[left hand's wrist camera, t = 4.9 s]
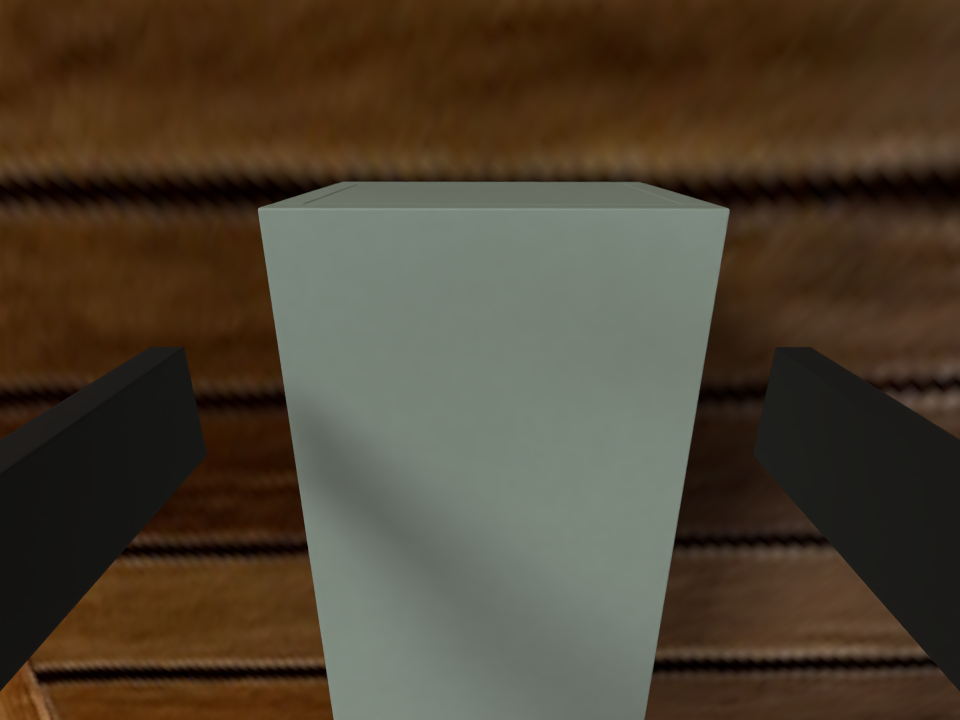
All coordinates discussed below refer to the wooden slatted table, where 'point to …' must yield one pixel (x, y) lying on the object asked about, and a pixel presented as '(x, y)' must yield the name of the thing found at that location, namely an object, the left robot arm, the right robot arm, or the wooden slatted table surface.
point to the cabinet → (491, 434)
